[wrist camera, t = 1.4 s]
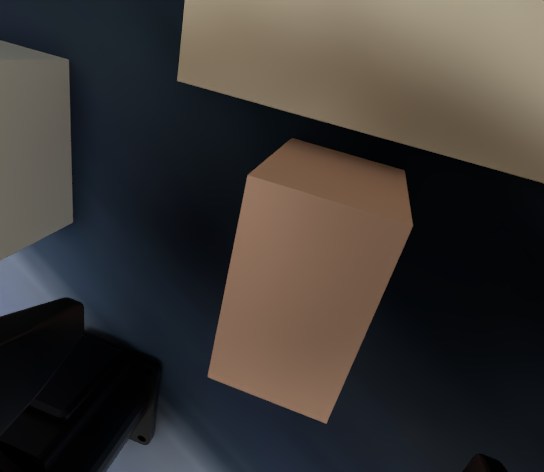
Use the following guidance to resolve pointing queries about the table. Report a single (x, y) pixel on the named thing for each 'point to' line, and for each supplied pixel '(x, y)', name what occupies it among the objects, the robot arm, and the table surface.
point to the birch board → (385, 69)
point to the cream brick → (33, 147)
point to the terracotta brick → (307, 273)
